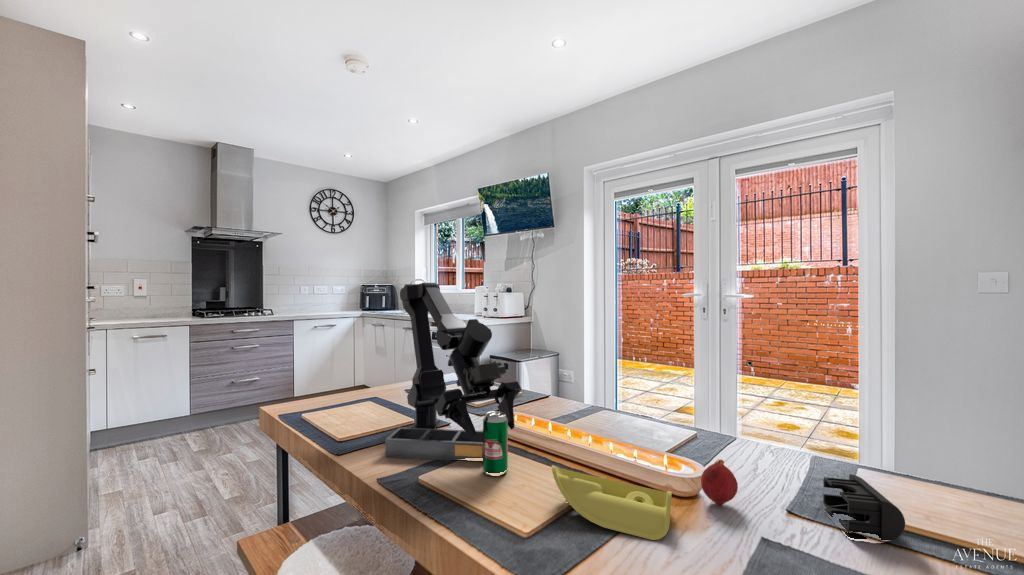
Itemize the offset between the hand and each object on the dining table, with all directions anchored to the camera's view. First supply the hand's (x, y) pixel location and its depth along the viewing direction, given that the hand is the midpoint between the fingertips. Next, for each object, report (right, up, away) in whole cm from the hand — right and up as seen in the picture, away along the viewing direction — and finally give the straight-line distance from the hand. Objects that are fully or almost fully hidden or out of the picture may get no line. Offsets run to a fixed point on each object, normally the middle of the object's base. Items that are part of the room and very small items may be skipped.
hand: (494, 432), depth 92 cm
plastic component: (+20, -9, -16) cm, 27 cm away
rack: (-13, -8, +10) cm, 18 cm away
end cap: (+59, -9, -21) cm, 63 cm away
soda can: (0, -8, 0) cm, 8 cm away
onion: (+40, -9, -13) cm, 43 cm away
